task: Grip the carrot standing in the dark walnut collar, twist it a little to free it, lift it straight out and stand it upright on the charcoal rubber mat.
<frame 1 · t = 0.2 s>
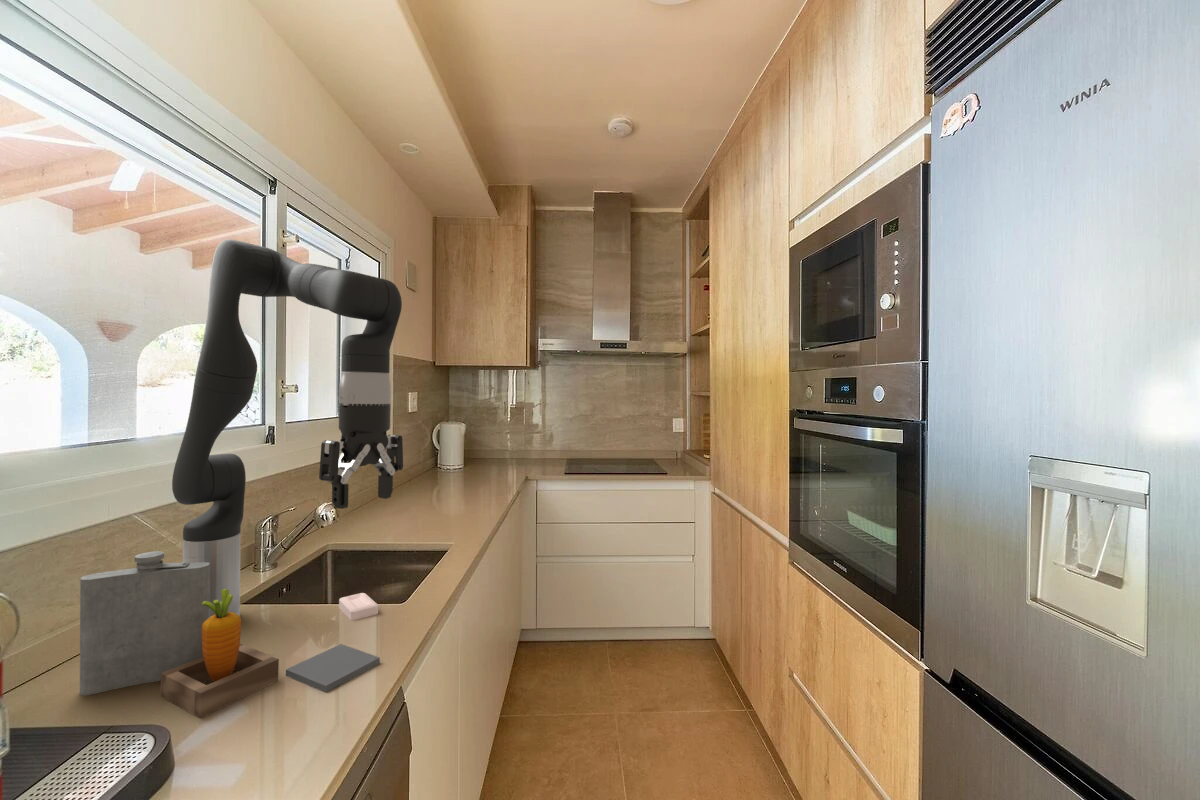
hand: (363, 502, 84), 29 cm above the countertop, tool pointing down, fingers open, 8 cm apart
soap bar: (358, 612, 111), on the countertop
carrot: (221, 689, 81), on the countertop
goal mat: (333, 669, 88), on the countertop
hip flask: (148, 680, 84), on the countertop
socket collar: (221, 688, 81), on the countertop
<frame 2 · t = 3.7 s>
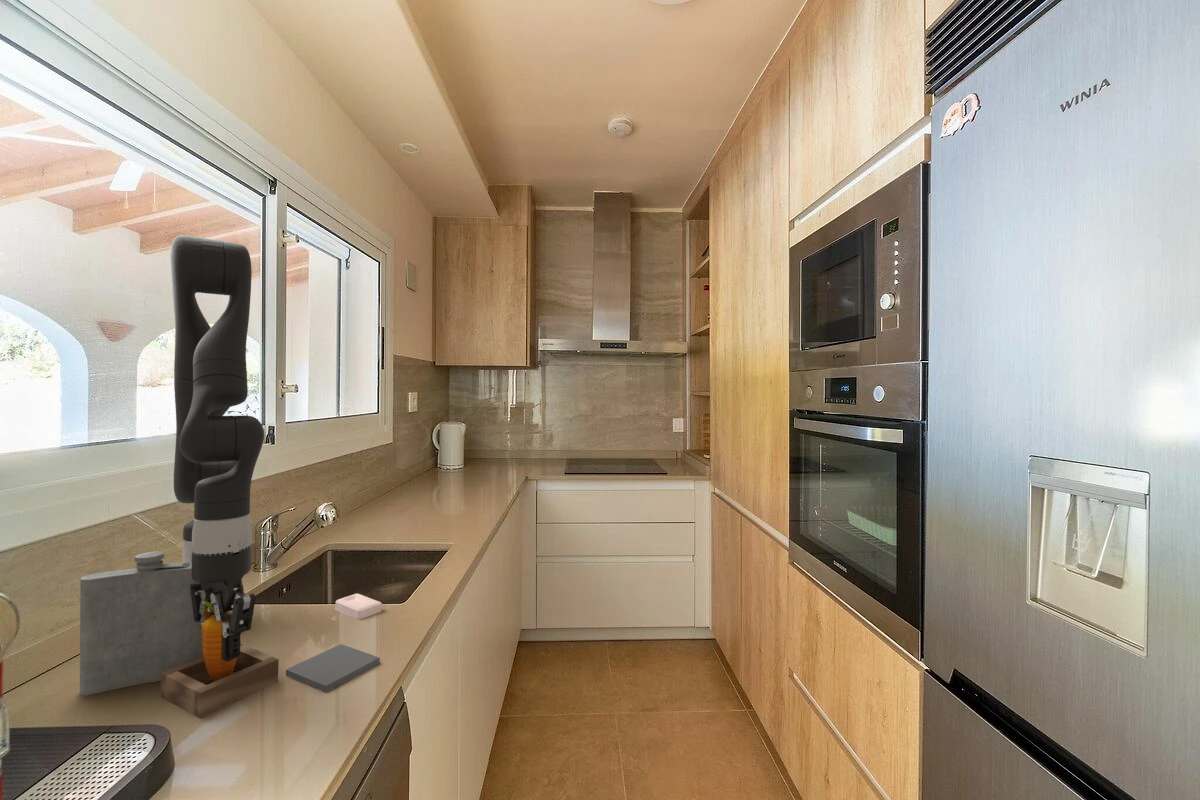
hand: (221, 653, 81), 5 cm above the countertop, tool pointing down, fingers closed on carrot, 4 cm apart
carrot: (221, 689, 81), on the countertop, touching gripper
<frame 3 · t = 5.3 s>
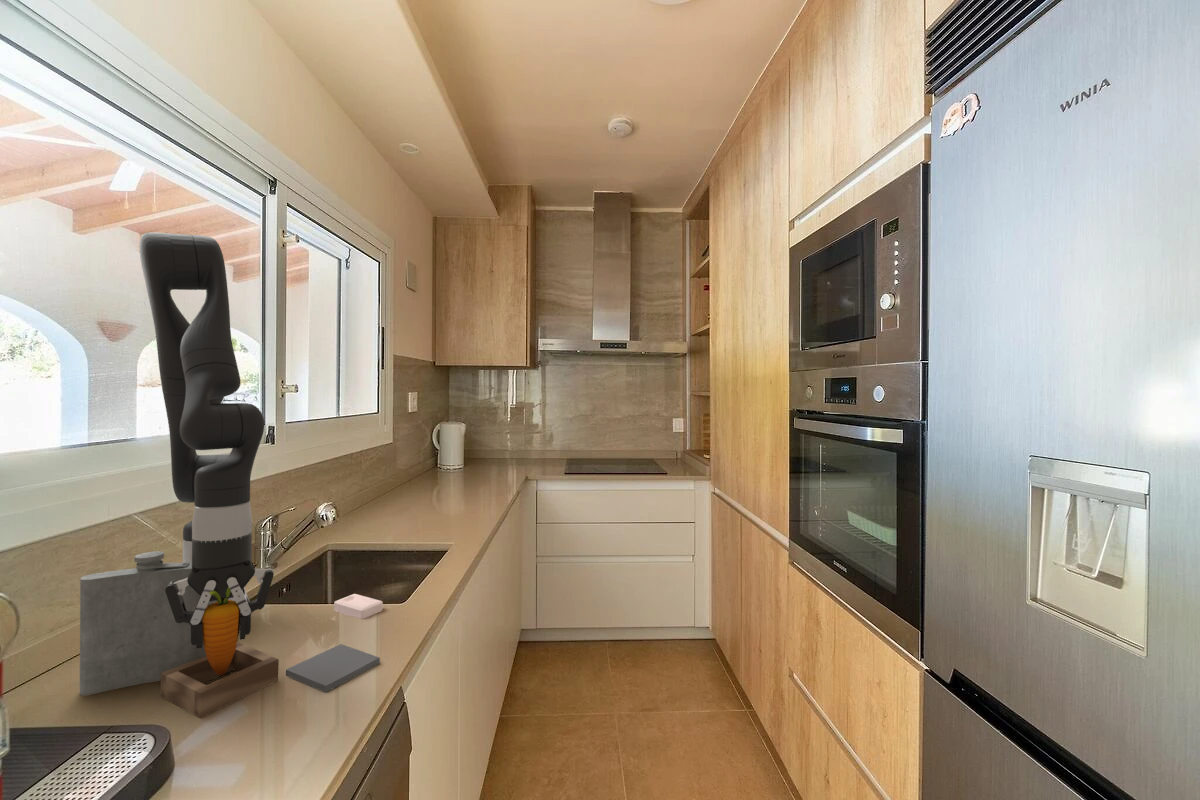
hand: (221, 641, 81), 7 cm above the countertop, tool pointing down, fingers closed on carrot, 4 cm apart
carrot: (221, 676, 82), point 2 cm above the countertop, touching gripper
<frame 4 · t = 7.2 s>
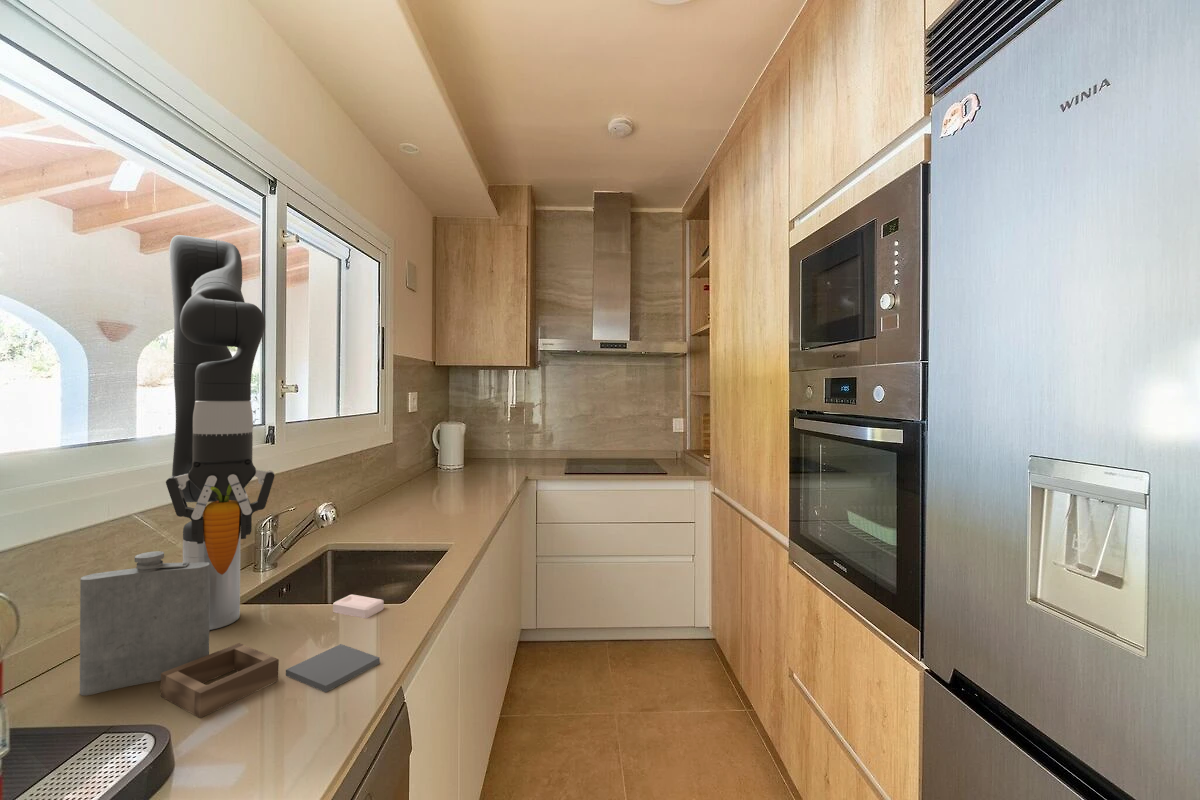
hand: (222, 539, 81), 23 cm above the countertop, tool pointing down, fingers closed on carrot, 4 cm apart
carrot: (222, 575, 81), point 18 cm above the countertop, touching gripper
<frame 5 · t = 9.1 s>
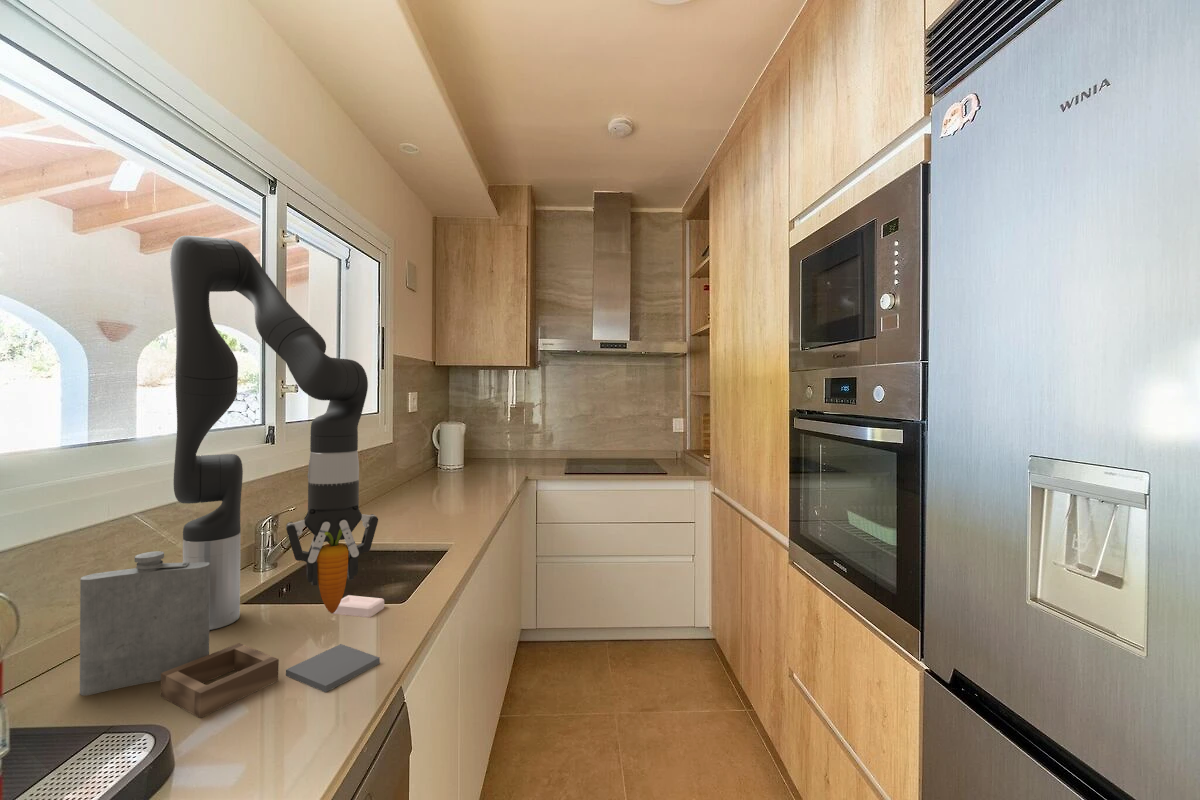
hand: (332, 580, 87), 15 cm above the countertop, tool pointing down, fingers closed on carrot, 4 cm apart
carrot: (332, 614, 87), point 9 cm above the countertop, touching gripper
when the fingers open (8 cm above the countertop, at t = 10.7 s): carrot drops 1 cm, resting on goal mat.
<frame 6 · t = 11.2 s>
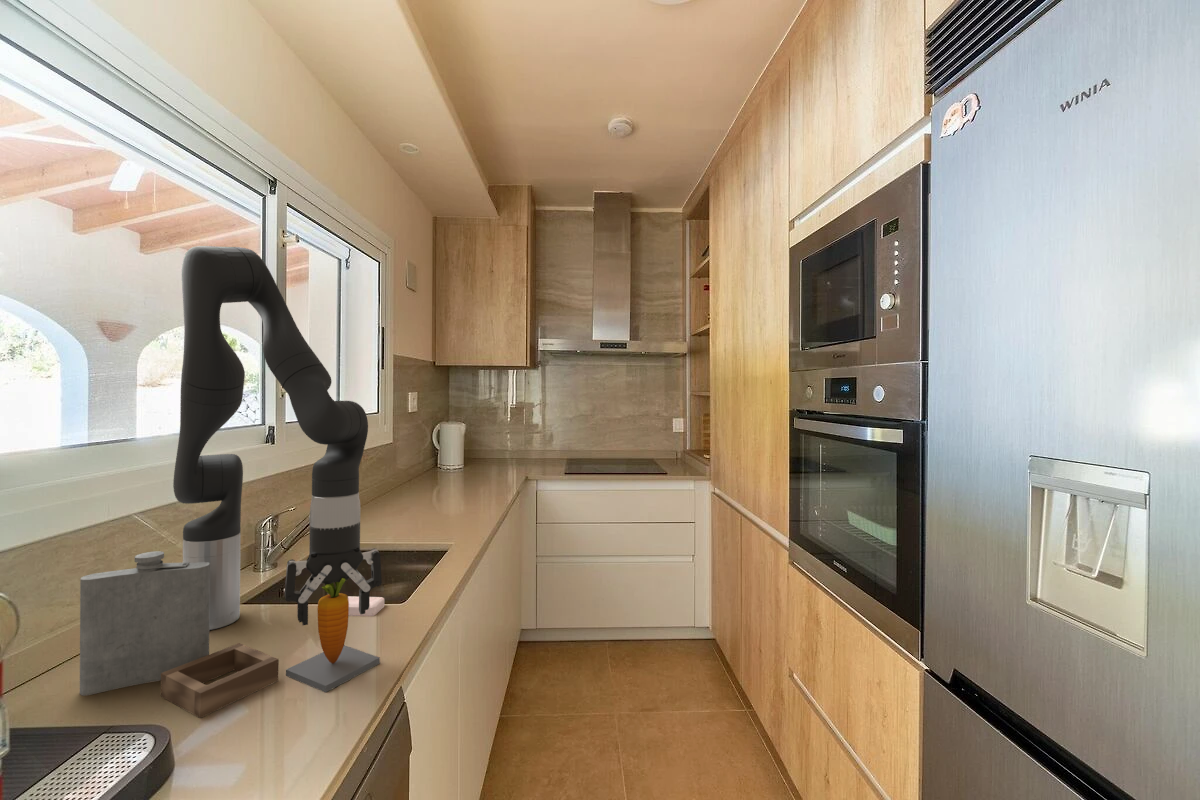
hand: (334, 617, 87), 9 cm above the countertop, tool pointing down, fingers open, 8 cm apart
carrot: (333, 664, 87), point 1 cm above the countertop, touching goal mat
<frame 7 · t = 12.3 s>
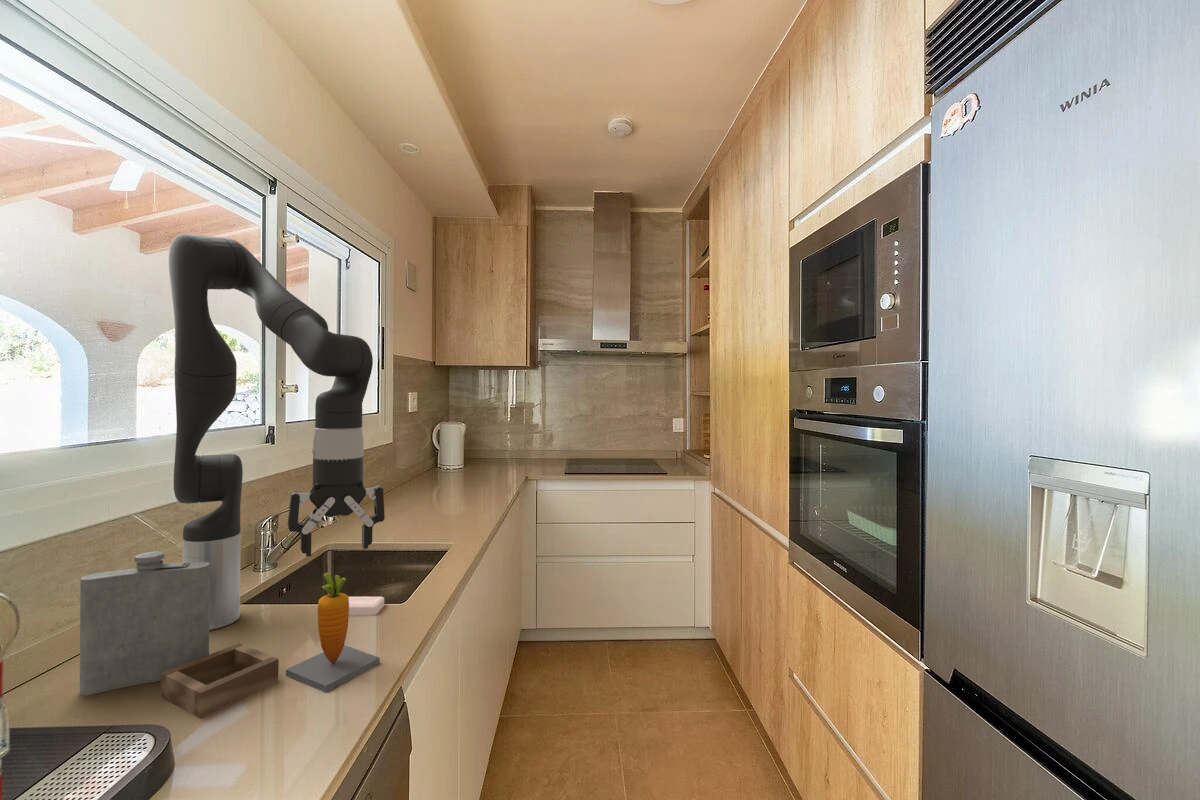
hand: (337, 551, 88), 20 cm above the countertop, tool pointing down, fingers open, 8 cm apart
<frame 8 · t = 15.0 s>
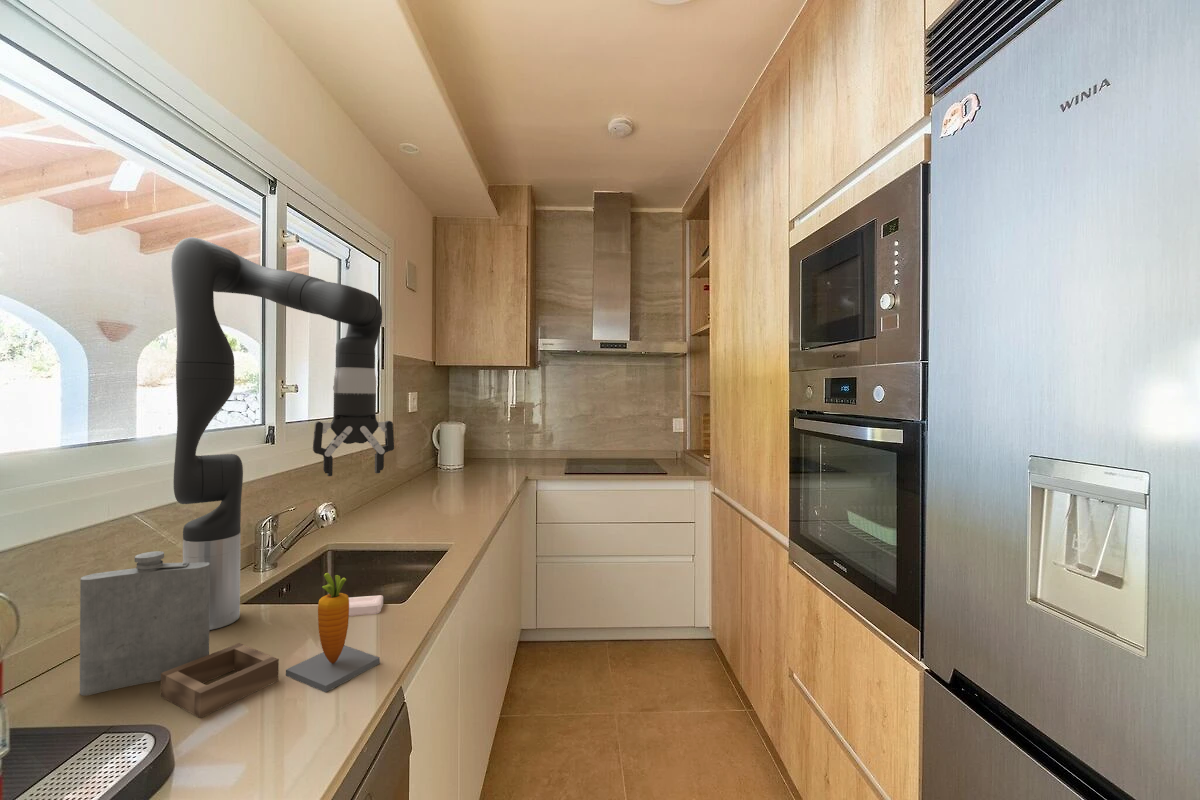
hand: (354, 474, 103), 30 cm above the countertop, tool pointing down, fingers open, 8 cm apart
at the end: carrot inside the target area on the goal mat (0.1 cm from its centre), point 0.8 cm above the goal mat's base; carrot tilted 0°; the gripper is holding nothing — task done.
